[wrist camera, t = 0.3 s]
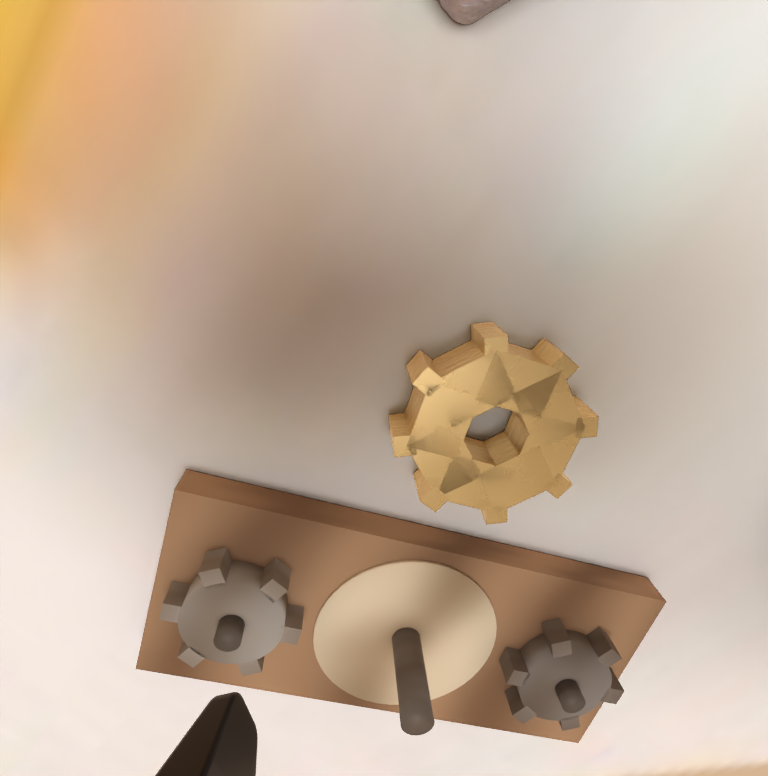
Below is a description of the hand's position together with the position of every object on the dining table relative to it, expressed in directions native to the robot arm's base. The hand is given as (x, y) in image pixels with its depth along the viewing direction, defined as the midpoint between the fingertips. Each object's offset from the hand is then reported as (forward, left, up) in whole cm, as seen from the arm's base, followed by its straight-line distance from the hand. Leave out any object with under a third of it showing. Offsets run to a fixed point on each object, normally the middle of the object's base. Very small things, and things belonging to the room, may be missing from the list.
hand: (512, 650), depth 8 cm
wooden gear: (-3, +1, -12) cm, 13 cm away
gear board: (-3, +11, -12) cm, 17 cm away
